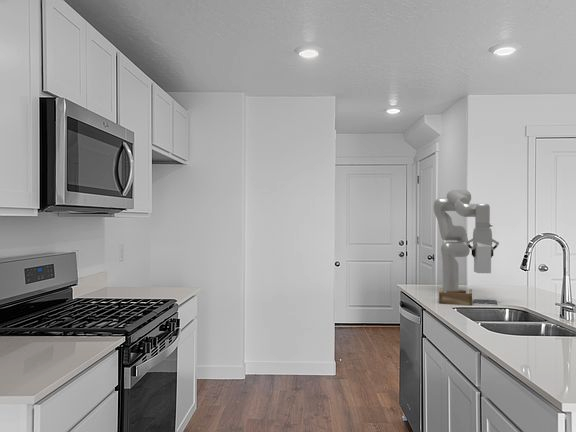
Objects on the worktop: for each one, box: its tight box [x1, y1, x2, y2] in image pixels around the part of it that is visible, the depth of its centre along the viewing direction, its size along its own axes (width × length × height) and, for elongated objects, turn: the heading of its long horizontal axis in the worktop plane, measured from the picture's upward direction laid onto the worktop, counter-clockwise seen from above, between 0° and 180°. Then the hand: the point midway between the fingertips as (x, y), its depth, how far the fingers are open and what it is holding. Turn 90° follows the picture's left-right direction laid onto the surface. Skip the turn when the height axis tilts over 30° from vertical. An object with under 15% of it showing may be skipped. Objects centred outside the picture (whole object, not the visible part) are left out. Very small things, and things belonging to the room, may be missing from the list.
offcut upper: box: [446, 289, 467, 293], centre depth 285 cm, size 4×10×3 cm, turn 109°
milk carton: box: [473, 242, 492, 274], centre depth 279 cm, size 7×7×19 cm
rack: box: [438, 287, 473, 306], centre depth 280 cm, size 18×17×6 cm
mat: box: [473, 298, 499, 305], centre depth 279 cm, size 12×12×1 cm
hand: (482, 257), depth 279 cm, fingers closed on milk carton, 8 cm apart
